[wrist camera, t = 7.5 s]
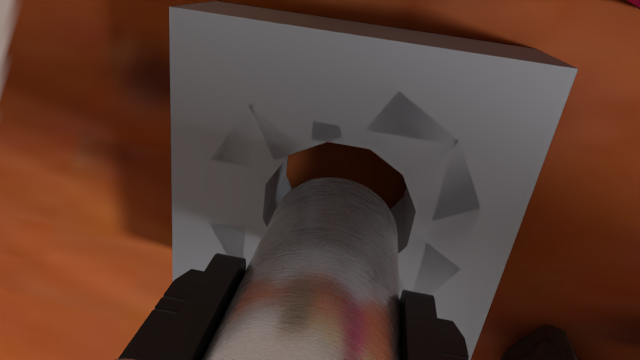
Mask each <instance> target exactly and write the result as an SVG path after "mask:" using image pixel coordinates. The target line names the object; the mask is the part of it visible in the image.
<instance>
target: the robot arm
mask: <svg viewBox="0 0 640 360" xmlns="http://www.w3.org/2000/svg"><path fill="white" fill-rule="evenodd" d="M245 271H246V259H245V258H240V257H235V256H230V255H225V254H220V253H216V254H215V255H214V257H213V258H212V260H211V261H210V263H209V264H208V266H207V268H206V269H205V271H200V270H195V269H190V270H189V271H187V272H186V273H184V274H183V275H181V276H180V277H178V278H176V279H175V280H174V281H173V282H172V284H171V285H170V287H169V288H168V289H167V291H166V292H165V294H164V296H163V298H161V299H160V301H159V302H158V303H157V305H156V306H155V309H154V310H152V312H151V313H150V315H149V316H148V318H147V319H146V320H145V322H144V323H143V325H142V326H141V327H140V329H139V330H138V332H137V333H136V334H135V336H134V337H133V339H132V340H131V341H130V343H129V344H128V346H127V347H126V348H125V350H124V351H123V353H122V354H121V355H120V357H119V358H118V359H117V360H202V358H203V356H204V354H205V352H206V350H207V348H208V346H209V344H210V342H211V340H212V338H213V336H214V334H215V332H216V330H217V328H218V326H219V323H220V321H221V319H222V317H223V315H224V313H225V311H226V309H227V307H228V305H229V303H230V301H231V299H232V297H233V295H234V293H235V291H236V289H237V287H238V285H239V283H240V281H241V279H242V277H243V275H244V273H245ZM399 301H400V335H401V360H469V355H468V350H467V346H466V341H465V338H464V336H463V335H462V333H461V332H460V330H459V329H458V328H457V326H456V325H455V323H454V322H453V321H451V320H446V319H441V318H437V312H436V305H435V298H434V296H433V295H429V294H424V293H419V292H414V291H408V290H403V291H402V293H401V296H400V300H399Z"/></svg>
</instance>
